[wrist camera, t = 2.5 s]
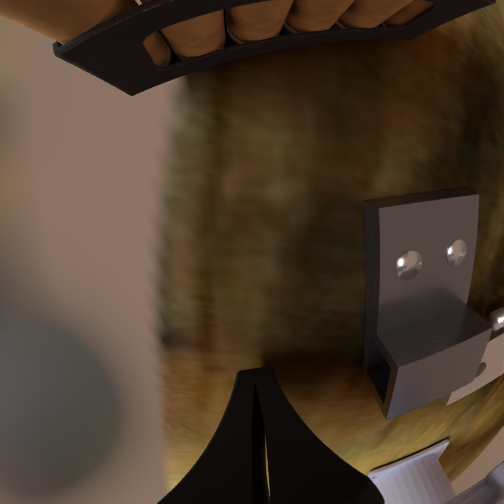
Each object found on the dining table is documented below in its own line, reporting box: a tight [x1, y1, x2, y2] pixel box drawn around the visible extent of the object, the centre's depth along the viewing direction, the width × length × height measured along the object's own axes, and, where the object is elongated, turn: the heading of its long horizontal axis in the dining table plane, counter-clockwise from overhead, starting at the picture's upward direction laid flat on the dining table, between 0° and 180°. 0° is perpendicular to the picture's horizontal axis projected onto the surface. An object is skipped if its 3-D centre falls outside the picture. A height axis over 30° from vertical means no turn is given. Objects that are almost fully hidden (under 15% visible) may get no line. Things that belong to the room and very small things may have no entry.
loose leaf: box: [362, 189, 493, 420], centre depth 10 cm, size 8×5×3 cm, turn 10°
